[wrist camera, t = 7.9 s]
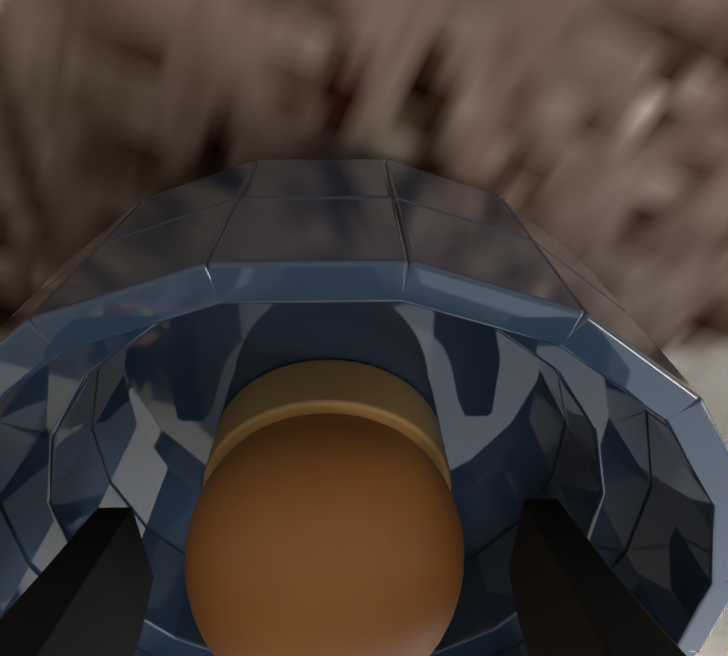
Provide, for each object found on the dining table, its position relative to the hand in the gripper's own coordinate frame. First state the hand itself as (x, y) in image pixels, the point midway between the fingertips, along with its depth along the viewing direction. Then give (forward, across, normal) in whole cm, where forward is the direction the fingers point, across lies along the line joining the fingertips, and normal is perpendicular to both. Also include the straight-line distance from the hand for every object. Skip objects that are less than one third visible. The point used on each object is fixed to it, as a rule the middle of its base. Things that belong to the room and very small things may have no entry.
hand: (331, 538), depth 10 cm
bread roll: (+2, 0, 0) cm, 2 cm away
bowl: (+3, 0, 0) cm, 3 cm away
